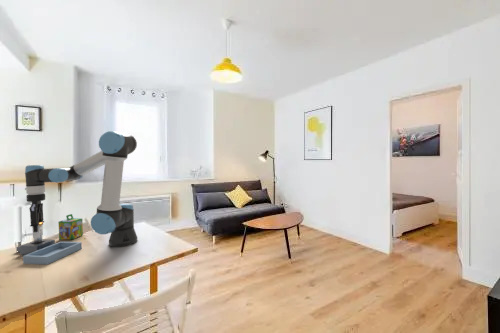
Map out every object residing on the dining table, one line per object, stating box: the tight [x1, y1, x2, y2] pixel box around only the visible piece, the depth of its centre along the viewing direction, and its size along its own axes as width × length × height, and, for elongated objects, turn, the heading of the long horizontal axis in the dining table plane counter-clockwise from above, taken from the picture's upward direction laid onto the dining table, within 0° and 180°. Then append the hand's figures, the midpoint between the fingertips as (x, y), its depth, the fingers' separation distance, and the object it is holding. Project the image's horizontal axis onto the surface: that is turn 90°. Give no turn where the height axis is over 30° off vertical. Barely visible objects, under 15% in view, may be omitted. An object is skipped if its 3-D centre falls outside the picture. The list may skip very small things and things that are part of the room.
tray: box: [22, 241, 83, 265], centre depth 124 cm, size 20×13×4 cm, turn 173°
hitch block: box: [15, 238, 56, 256], centre depth 129 cm, size 10×16×5 cm, turn 83°
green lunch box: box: [58, 213, 84, 241], centre depth 152 cm, size 9×9×15 cm
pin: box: [33, 222, 44, 244], centre depth 129 cm, size 5×5×14 cm
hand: (38, 236), depth 129 cm, fingers closed on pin, 5 cm apart
